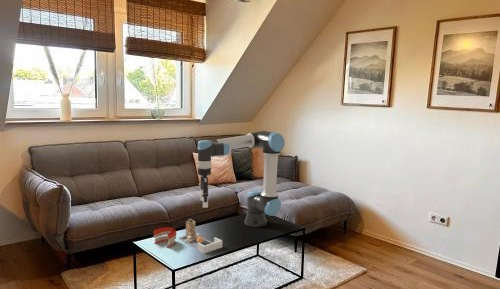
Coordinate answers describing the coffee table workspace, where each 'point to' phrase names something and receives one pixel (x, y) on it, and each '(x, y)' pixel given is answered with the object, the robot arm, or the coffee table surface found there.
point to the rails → (190, 243)
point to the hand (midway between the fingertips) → (204, 203)
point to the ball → (199, 240)
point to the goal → (210, 246)
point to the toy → (165, 231)
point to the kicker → (191, 231)
